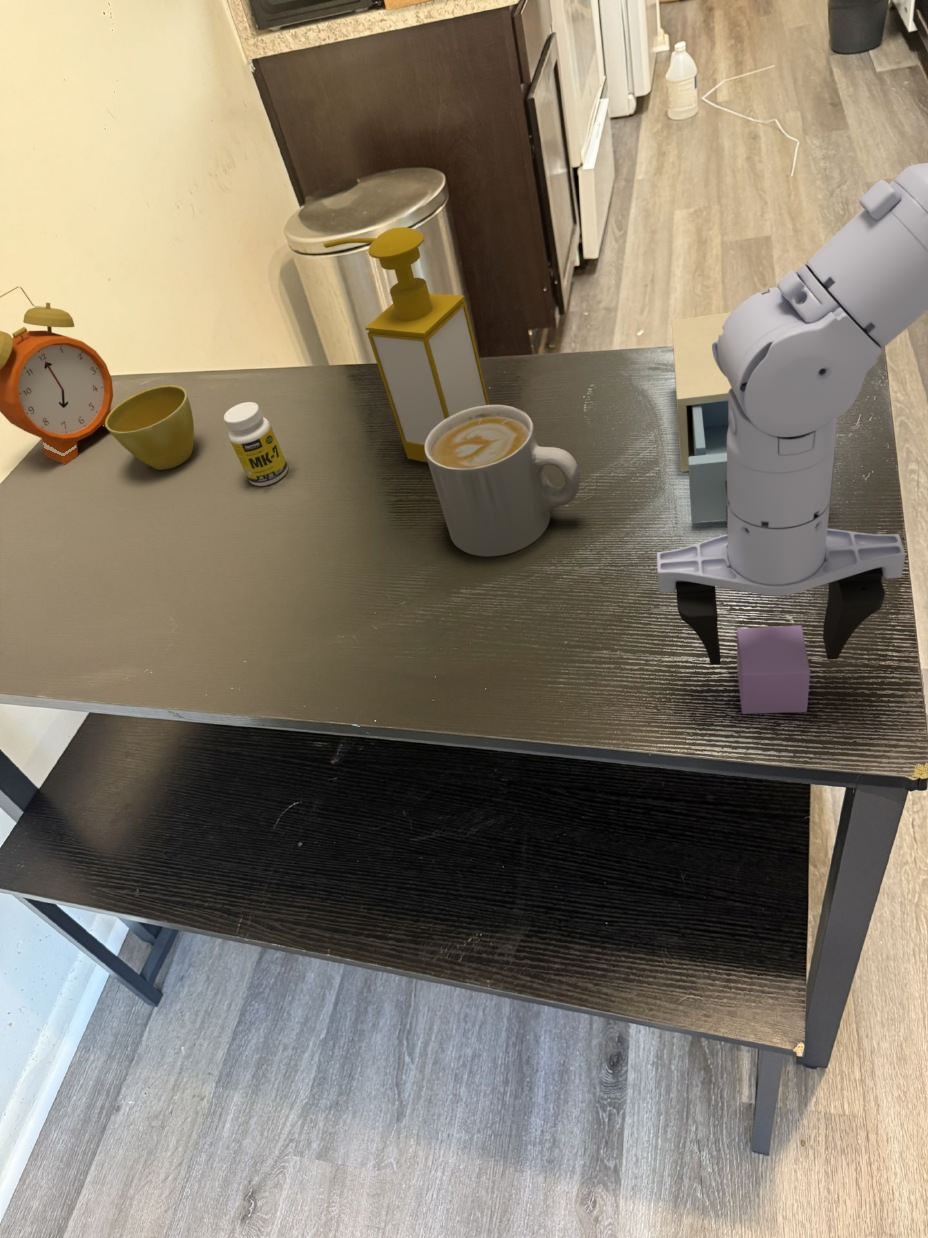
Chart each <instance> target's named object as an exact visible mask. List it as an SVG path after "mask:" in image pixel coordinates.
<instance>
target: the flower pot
mask: <svg viewBox="0 0 928 1238" xmlns="http://www.w3.org/2000/svg"><path fill="white" fill-rule="evenodd" d="M110 411H111V412H110V413H109V415H108V416H107V418H106V421H105V425H106V428H105V429H107V430H108V432H109V433H110V434H111V435H112V436H113V438H114V439H115V440H116V441H117V442H118V443H119V444H120V446H122V447H123V448H124V449H126V451H127V452H129V453H130V454H132V455H133V456H134V457H135V458H137V459H138V460H140V461H142V462H143V463H145V464H147V465H148V466H150V467H152V468H154V469H156V470H163V471H164V470H170V469H173V468H176V467H178V466H180V465H181V464H183V463H184V462H186V461H187V460H188V459H189V458H190V457H191V455H192V454H193V449H194V441H195V440H194V439H195V438H194V437H195V427H194V426H195V424H194V416H193V411H192V406H191V403H190V399H189V396H188V393H187V390H185V388H183V387H181V386H180V385H172V384H167V385H159V386H154V387H151V388H148V389H145V390H142V391H140V392H138V393H136V394H133V395H132V396H129V397H128V398H126V399H124V400H123V401H121V402H120V403H118V404H117V405H116V406H115V407H114V408H113V409H112V410H110Z"/></svg>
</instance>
